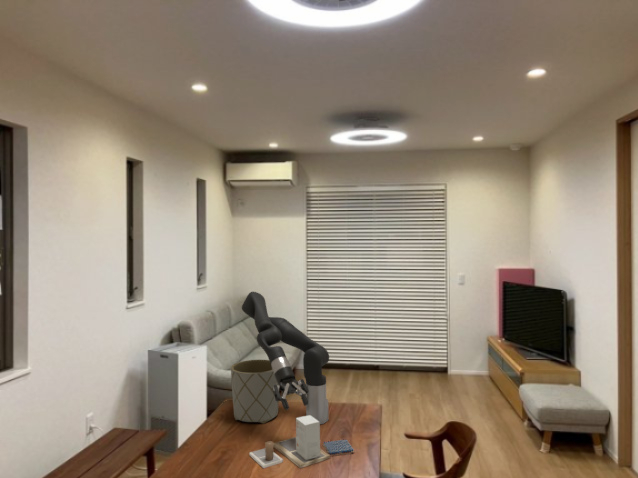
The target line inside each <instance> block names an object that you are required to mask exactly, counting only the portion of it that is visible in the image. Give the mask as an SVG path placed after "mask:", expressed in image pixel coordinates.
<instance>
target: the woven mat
mask: <svg viewBox="0 0 638 478" xmlns="http://www.w3.org/2000/svg"><path fill="white" fill-rule="evenodd" d="M322 446H323V448H324V450H325V451H326V453H327V454H329V455H330V457H334V456H343V455H351V454H355V451H354V448H353V447H352V445H351V443H350V442H349V441H348V439H339V440H331V441H329V440H328V441H323V444H322Z"/></svg>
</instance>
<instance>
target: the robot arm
mask: <svg viewBox="0 0 638 478" xmlns="http://www.w3.org/2000/svg"><path fill="white" fill-rule="evenodd" d="M266 302H267V301H266V299H265V297H264V296H263V295H262V294H261V293H259V292H258V291H251V292H249V293H248V294H247V296H246V297H245V299H244V301H243V303H242V305H241V310H242V311H243V312H244V314H246V315H247V316H248V317H249V318H251V319H252V320H253V321H254V325H255V328H256V330H257V332H258V334H257V335H256V341H257V344H258V345H259V347H261V349H262V350H263V351H264V353H265V354H266V355H267V358H268V360H269V361H270V363H271V366H272V370H273V373H274V375H275V378H276V380H277V383H278V385H276V384H275V385H274V386H273V388H272V390H273V393H274V396H275V399H276V401H279V402H281V405H282V407H283V409H284V410H285V411H288V410H289V409H290V406H289V403H288V400H287V398H286V397H287V396H288V395H293V394H296V395H298V396H300V399H301V401H302V403H303V405H304V406H305V411H306V412H305V413H306V415H305V416H308V415H311V416H312V417H313V418H315V419H316V420H318V421H319V422H320V425H323V424H325V423H327V422H328V421H329V399H328V398H327V377H326V376H325V374H323V370H322V368H323V367H324V366H325V365H327V363H329V361H330V355H329V352H328V350H327V349H326V348H325V347H324V346H322V345H321V344H319V343H318V342H317V341H314V340H313V339H311V338H310V337H308V336H307V335H306V334H305V333H303V332H302V331H301V330H300V329H298V328H297V327H296V326H294V324H292V323H291V322H290V321H288V320H287V319H286V318H284V317H278V316H276V317H275V316H273V317H271V316H269V314H268V310H267V309H268V308H267V303H266ZM280 342H282V343H283V344H285V345H289V346H291V347H292V348H293V347H294V348H295V349H298V350H300V351H302V352H303V358H302V362H303V363H302V365H303V377H304V379H305V380H304V379H303V378H301V379H299V380H297V379H296V375H295V373H294V370H293V368H292V366H291V364H290V362H289V360H288V357H287V356H286V353H285V351H284V348H283V347H282V346H280V345H278V346H277V345H276V344H278V343H280ZM280 391H281V394H280Z"/></svg>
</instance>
